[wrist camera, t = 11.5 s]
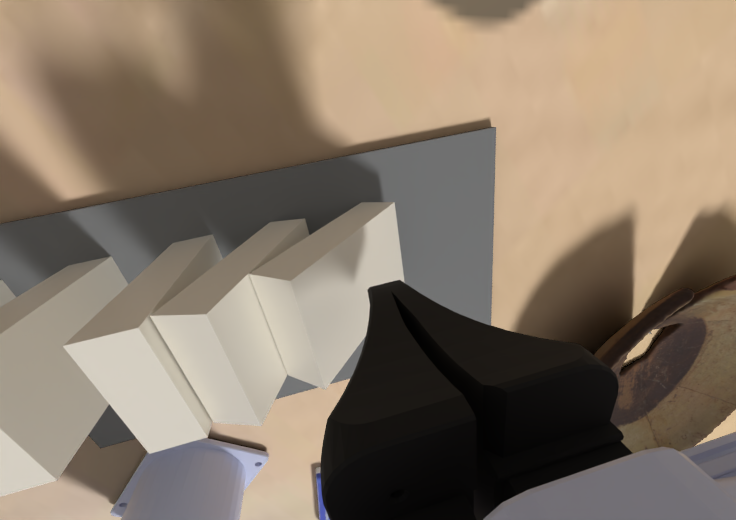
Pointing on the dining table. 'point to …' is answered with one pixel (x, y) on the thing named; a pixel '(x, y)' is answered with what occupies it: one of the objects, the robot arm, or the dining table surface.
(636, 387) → the oil lamp
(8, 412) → the domino
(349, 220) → the domino
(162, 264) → the domino
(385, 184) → the mat
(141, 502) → the robot arm
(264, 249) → the domino
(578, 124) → the dining table surface
